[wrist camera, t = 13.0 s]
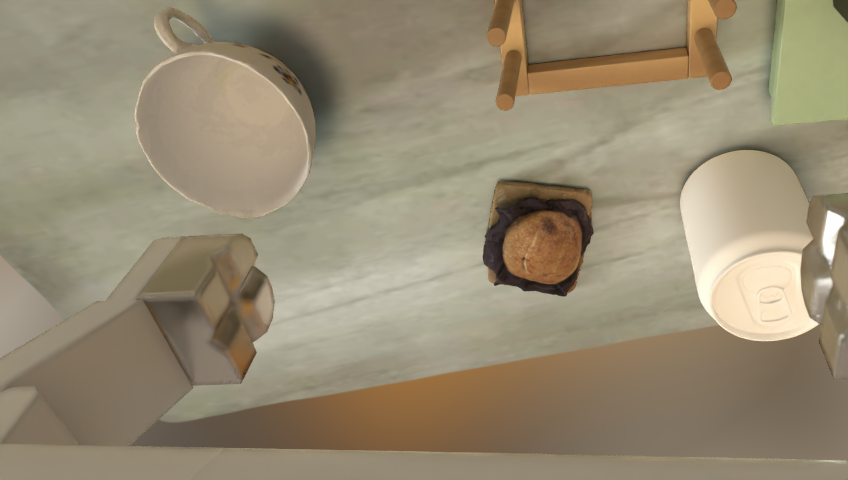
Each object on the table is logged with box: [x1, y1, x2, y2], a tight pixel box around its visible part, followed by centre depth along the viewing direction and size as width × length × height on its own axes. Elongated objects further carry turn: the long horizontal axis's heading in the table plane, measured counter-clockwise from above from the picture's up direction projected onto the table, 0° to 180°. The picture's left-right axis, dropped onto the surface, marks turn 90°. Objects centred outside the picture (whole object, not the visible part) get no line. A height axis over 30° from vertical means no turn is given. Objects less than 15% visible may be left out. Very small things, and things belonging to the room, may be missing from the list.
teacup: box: [134, 7, 316, 218], centre depth 50 cm, size 15×12×8 cm
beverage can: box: [680, 150, 819, 341], centre depth 47 cm, size 8×8×12 cm
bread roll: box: [483, 180, 593, 296], centre depth 56 cm, size 11×8×4 cm
